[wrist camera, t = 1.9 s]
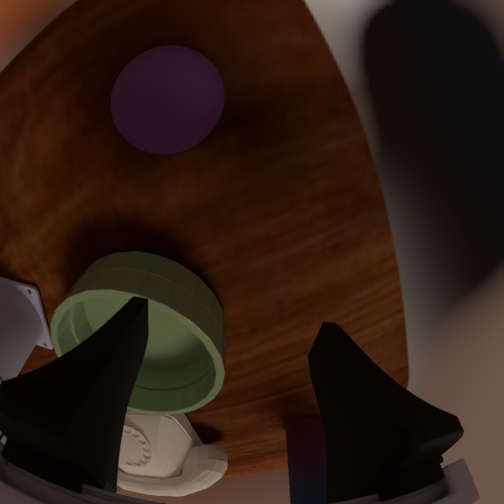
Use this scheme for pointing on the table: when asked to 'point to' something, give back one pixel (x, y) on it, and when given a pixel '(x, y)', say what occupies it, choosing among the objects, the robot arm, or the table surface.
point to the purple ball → (167, 99)
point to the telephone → (166, 456)
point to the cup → (307, 461)
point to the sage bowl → (152, 327)
